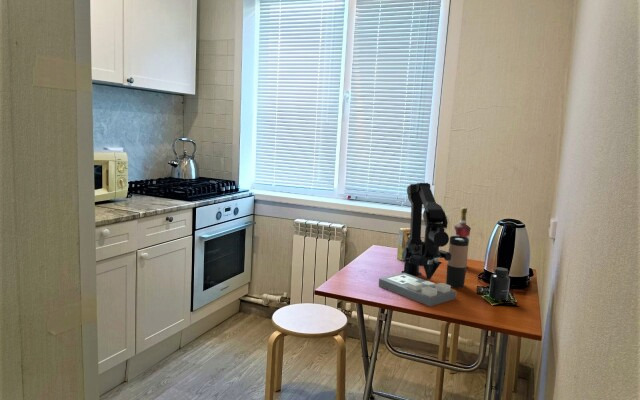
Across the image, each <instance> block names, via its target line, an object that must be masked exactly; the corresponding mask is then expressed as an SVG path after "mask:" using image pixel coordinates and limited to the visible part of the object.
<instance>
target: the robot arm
mask: <svg viewBox="0 0 640 400" xmlns="http://www.w3.org/2000/svg"><path fill="white" fill-rule="evenodd" d="M406 194H407V199H408V201H409V202H410V206H411V207H410V223H409V224H410V227H409V228H410V238H409V239H408V241H407V242H406V247H405V248H404V250H403V253H402V259H403V260H402V261H404V264H403V265H404V268H403V270H402V271H401V273H406V274H409V275H412V276H415V277H416V276H419V275H422V274H423V273H422V272H421V271H420V267H423V269H424V272H425V277H426V280H431V279H432V278H433V276H434V274H435V273H436V271H437V269H438V268H439V266H440V265H442V263H443V262H442V261H440V260H439V259H441V258H442V259H444V260H445V261H448V260H451V254H450V253H449V251H445V250H441V249H440V248H441V247H446V246H447V245H448V244H449V242H450V237H449V234H448V233H447V232H446V231H445V229H447V228H448V223H449V222H448V218H447V215H446V212H445V210H444V208H443V207H442V205H440V204H438V203H437V202H436V199H435V197H434V195H433V192H432V189H431V183H429V182H417V183H410V184H409V185H408V186H407V188H406ZM423 207H424V210H423ZM422 218H423V219H422ZM422 220H423V222H424V226H425V227H424V229H425V230H424V239H423V240H422Z"/></svg>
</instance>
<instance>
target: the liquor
mask: <svg viewBox="0 0 640 400" xmlns="http://www.w3.org/2000/svg"><path fill="white" fill-rule="evenodd" d="M467 213H468V207H460V214H461V215H460V219H459V224H456V225H454V229H453V230H454V231H453V232H454V233H453V236H461V237H466V238H468V239H469V240H470V235H471V226H470V225H468V224H467Z"/></svg>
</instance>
